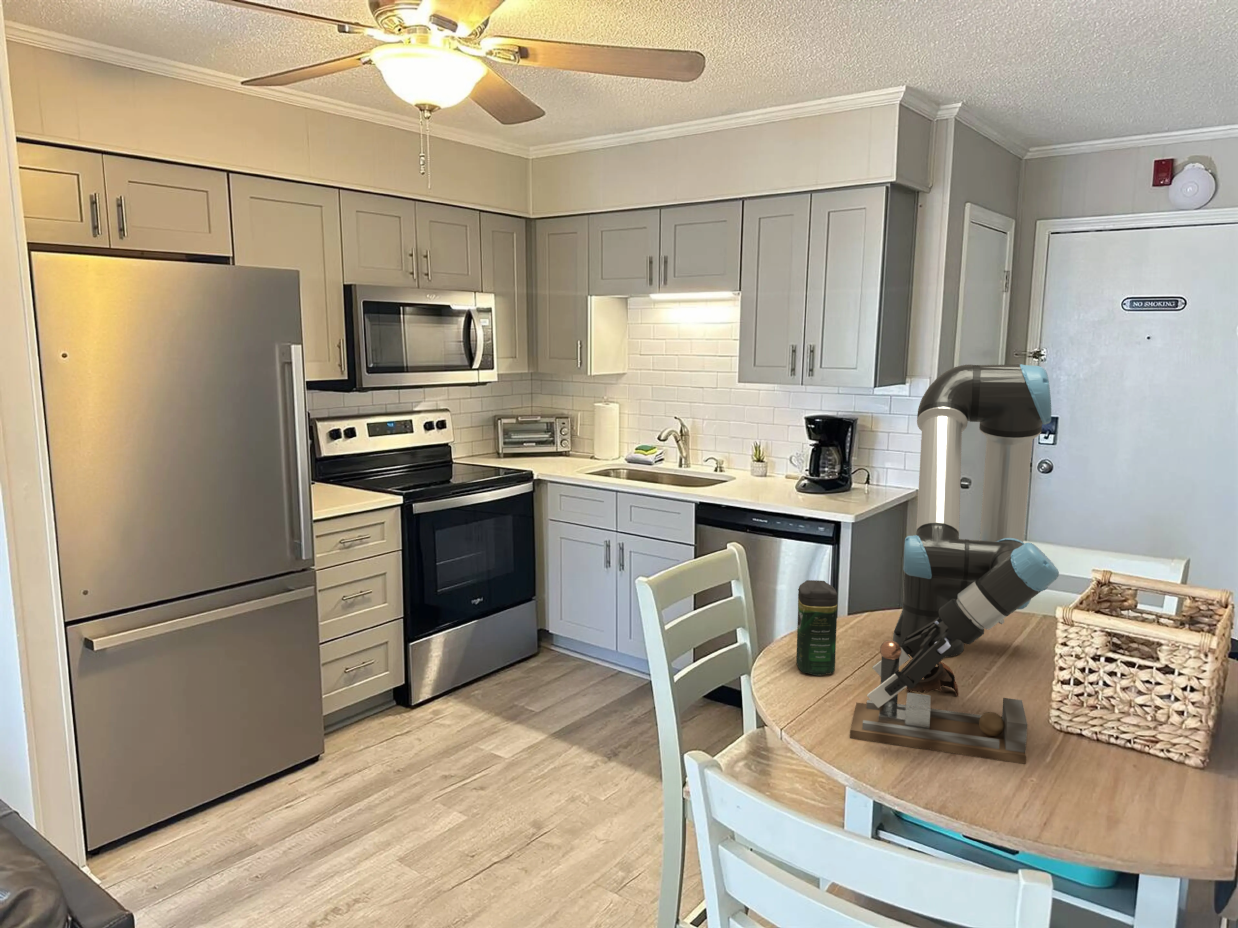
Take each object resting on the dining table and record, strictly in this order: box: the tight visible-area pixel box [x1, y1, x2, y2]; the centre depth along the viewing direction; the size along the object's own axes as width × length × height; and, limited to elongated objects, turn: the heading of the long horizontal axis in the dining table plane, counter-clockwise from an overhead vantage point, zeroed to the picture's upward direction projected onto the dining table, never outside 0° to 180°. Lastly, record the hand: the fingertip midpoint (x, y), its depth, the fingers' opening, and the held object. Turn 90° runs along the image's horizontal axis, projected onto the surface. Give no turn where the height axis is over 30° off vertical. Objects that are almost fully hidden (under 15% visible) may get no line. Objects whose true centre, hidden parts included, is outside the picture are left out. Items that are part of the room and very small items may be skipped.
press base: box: [849, 697, 1028, 765], centre depth 150 cm, size 28×12×6 cm, turn 70°
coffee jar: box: [795, 579, 838, 676], centre depth 180 cm, size 10×8×19 cm
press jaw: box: [879, 639, 932, 729], centre depth 151 cm, size 9×7×15 cm
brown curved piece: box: [905, 660, 959, 697], centre depth 169 cm, size 12×10×8 cm
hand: (875, 686), depth 153 cm, fingers open, 12 cm apart
